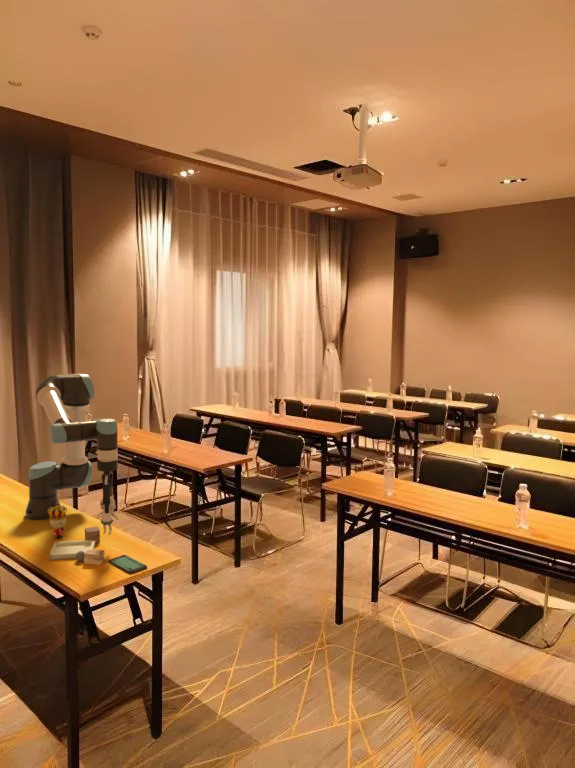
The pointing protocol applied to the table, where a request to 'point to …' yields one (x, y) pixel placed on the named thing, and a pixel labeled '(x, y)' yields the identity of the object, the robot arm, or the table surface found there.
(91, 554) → the maple block
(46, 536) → the table surface
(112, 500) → the figurine
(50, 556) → the tray
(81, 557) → the grey ball
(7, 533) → the table surface
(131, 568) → the smartphone
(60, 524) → the toy
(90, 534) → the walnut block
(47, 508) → the robot arm
